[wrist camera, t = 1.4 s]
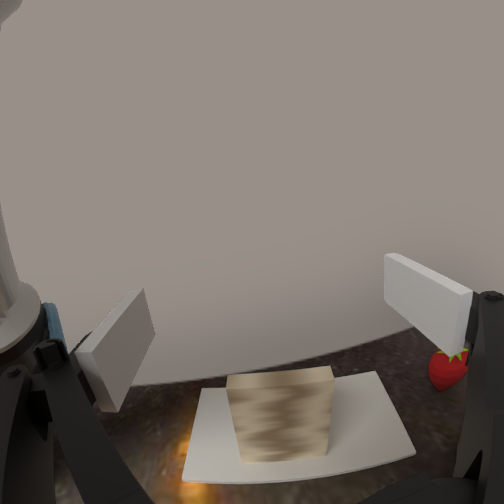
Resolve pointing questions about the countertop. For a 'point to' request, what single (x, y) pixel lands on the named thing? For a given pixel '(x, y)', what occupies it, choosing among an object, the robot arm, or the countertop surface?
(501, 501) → the robot arm
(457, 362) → the strawberry
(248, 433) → the board
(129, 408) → the countertop surface
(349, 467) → the mat
